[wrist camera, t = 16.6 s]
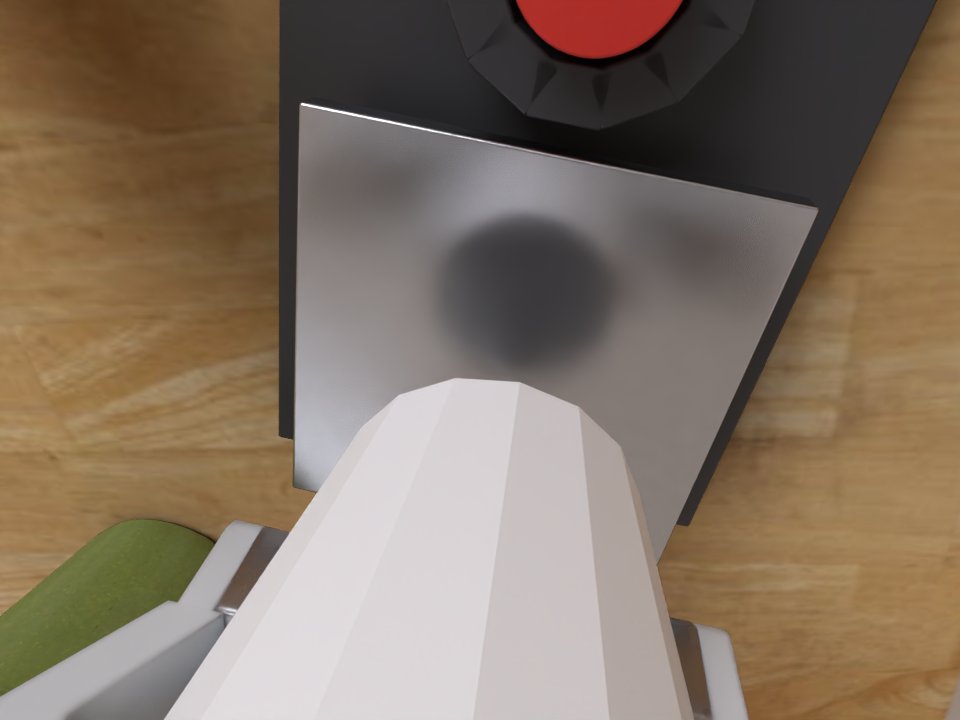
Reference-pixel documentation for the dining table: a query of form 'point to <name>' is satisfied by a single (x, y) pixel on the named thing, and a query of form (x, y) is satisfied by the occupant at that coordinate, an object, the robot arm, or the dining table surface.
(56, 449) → the dining table surface
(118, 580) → the plant pot
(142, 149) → the dining table surface
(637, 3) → the button
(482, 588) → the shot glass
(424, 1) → the scale
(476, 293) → the scale platter
